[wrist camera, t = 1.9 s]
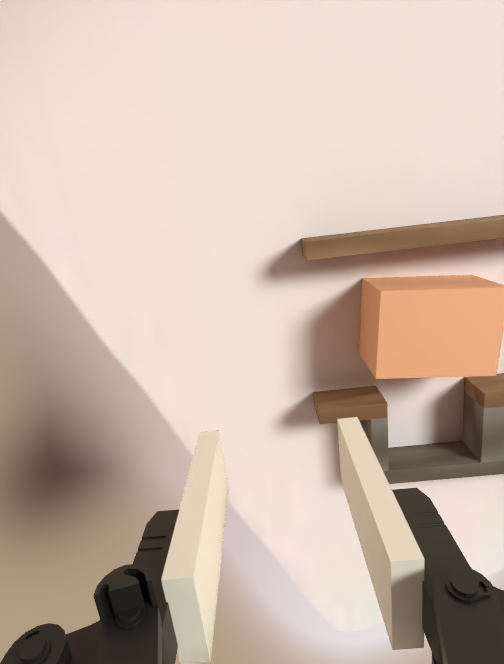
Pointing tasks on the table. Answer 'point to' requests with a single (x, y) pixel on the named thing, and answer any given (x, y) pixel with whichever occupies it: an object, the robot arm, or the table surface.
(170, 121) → the table surface
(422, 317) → the terracotta block
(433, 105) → the table surface
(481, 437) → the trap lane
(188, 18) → the table surface
